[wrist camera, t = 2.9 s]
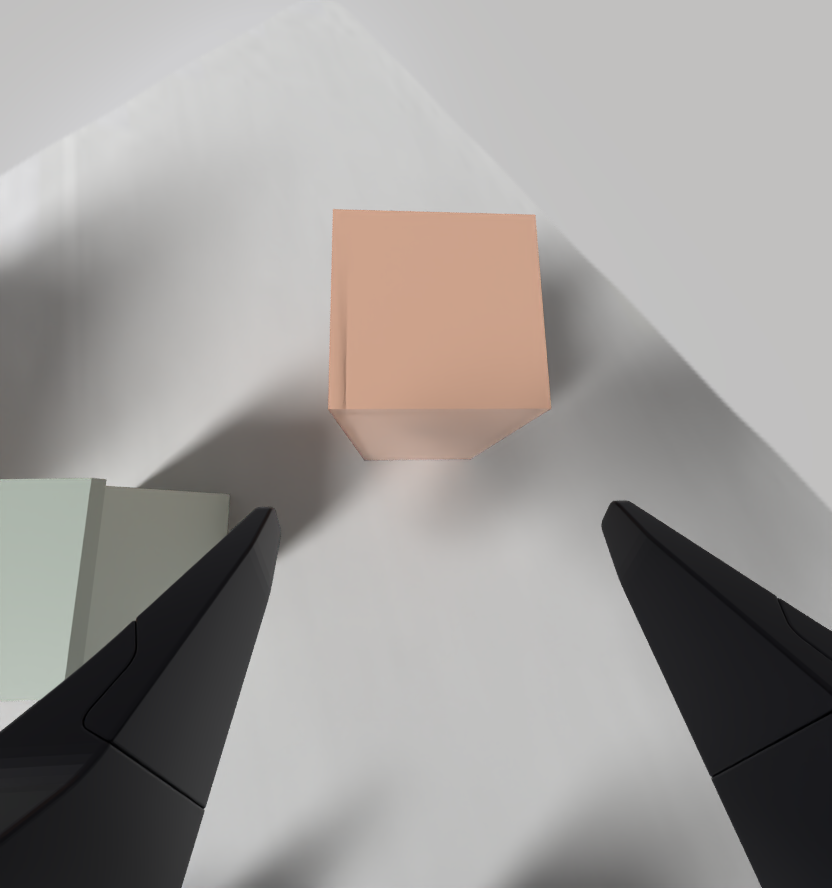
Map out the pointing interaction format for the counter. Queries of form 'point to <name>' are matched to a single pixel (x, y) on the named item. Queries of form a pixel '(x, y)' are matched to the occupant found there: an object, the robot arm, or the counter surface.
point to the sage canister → (87, 568)
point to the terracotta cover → (435, 331)
